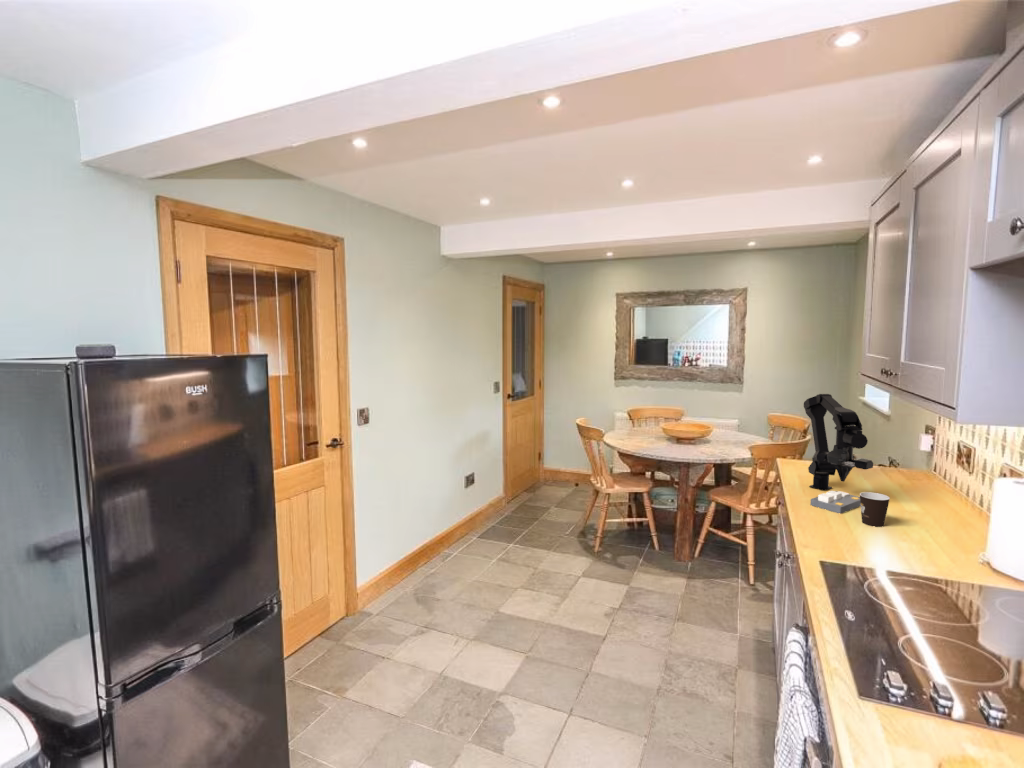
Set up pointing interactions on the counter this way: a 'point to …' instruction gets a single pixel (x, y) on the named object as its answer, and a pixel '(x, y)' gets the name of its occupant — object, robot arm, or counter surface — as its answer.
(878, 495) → the coffee mug
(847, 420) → the robot arm
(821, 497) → the key
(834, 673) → the counter surface
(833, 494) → the middle key
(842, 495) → the key
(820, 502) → the keyguard plate
